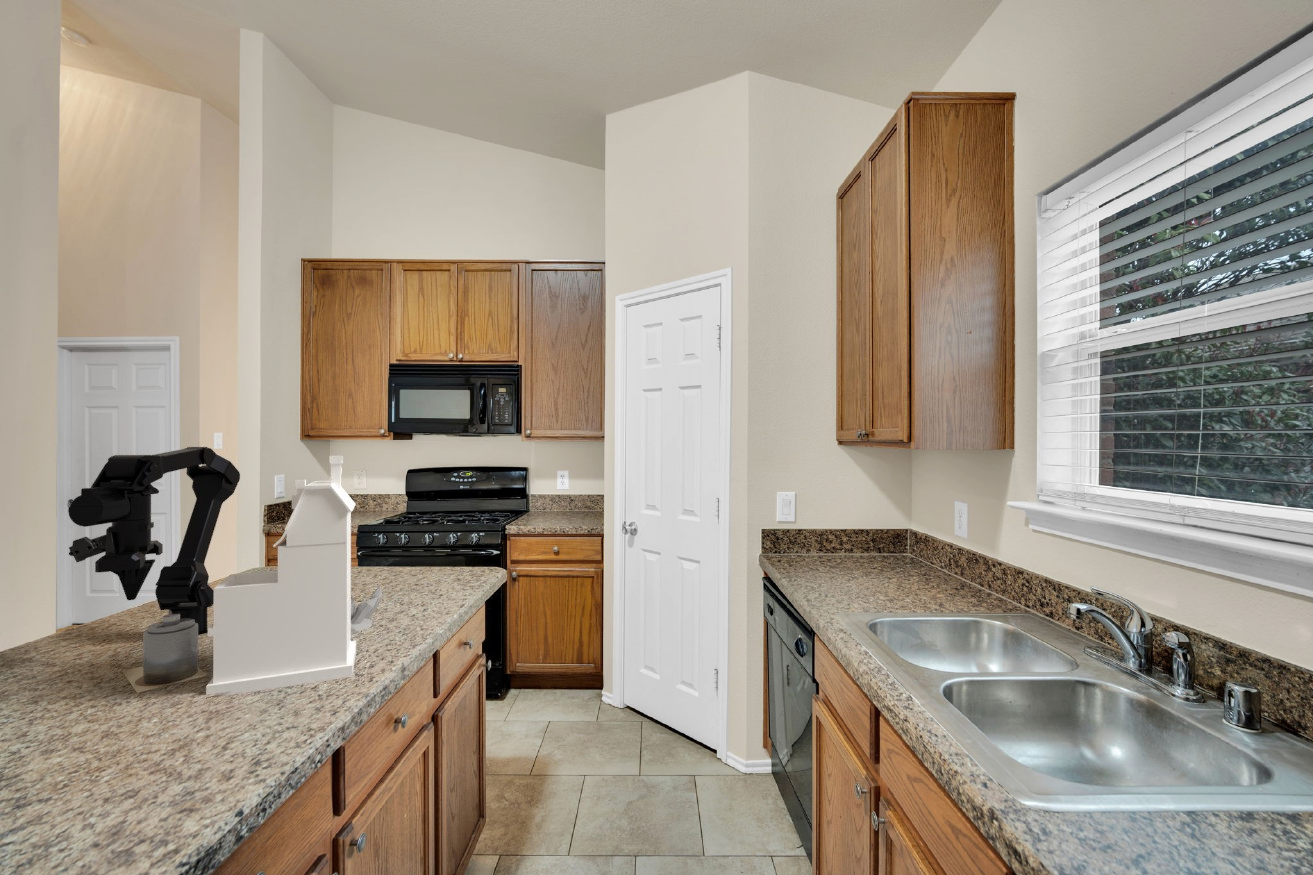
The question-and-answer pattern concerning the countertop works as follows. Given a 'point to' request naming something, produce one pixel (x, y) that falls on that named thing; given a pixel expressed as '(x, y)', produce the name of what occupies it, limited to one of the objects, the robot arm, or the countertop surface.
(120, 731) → the countertop surface
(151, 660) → the grey lidded jar
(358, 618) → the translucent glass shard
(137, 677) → the tan rectangular board
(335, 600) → the dollhouse
